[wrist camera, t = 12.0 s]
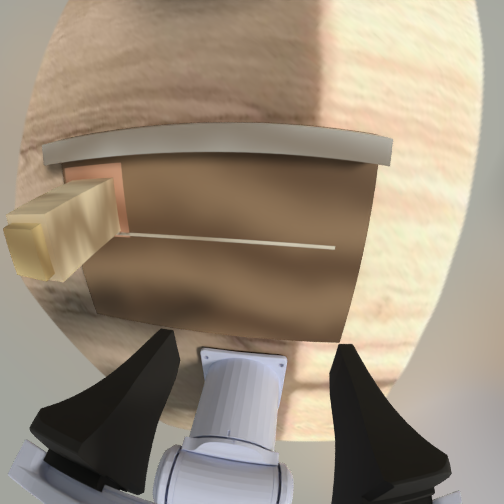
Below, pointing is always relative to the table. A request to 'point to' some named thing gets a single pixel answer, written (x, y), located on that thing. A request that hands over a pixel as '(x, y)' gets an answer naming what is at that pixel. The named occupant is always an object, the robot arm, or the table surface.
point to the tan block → (62, 228)
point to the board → (231, 224)
